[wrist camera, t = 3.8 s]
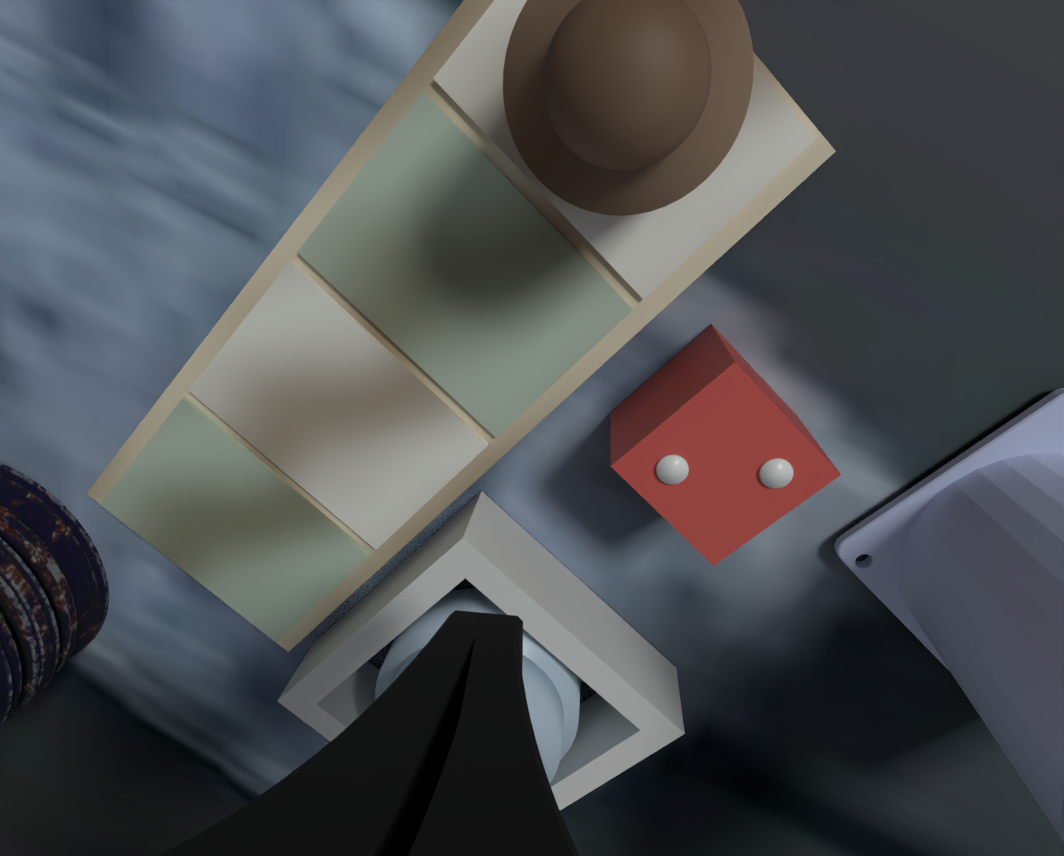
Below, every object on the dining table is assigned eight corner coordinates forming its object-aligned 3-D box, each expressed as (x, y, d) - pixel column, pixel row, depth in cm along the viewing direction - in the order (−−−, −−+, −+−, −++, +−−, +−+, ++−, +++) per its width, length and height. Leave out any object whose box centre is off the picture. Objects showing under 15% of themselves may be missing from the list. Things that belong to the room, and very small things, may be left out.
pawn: (750, 105, 16) (846, 63, 9) (616, 238, 17) (620, 281, 11) (626, -42, 15) (637, -198, 9) (497, 111, 17) (423, 76, 10)
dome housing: (676, 667, 24) (684, 733, 21) (495, 787, 27) (482, 858, 24) (481, 491, 22) (462, 538, 19) (313, 642, 25) (277, 701, 23)
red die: (798, 417, 20) (841, 476, 16) (695, 496, 21) (714, 567, 17) (711, 324, 19) (735, 363, 15) (611, 412, 20) (610, 467, 17)
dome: (621, 677, 23) (624, 816, 18) (491, 767, 26) (461, 911, 21) (480, 552, 22) (442, 665, 17) (356, 658, 24) (290, 784, 20)
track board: (823, 152, 17) (838, 150, 16) (300, 634, 25) (285, 655, 24) (584, -136, 15) (582, -159, 14) (106, 480, 24) (81, 496, 22)
